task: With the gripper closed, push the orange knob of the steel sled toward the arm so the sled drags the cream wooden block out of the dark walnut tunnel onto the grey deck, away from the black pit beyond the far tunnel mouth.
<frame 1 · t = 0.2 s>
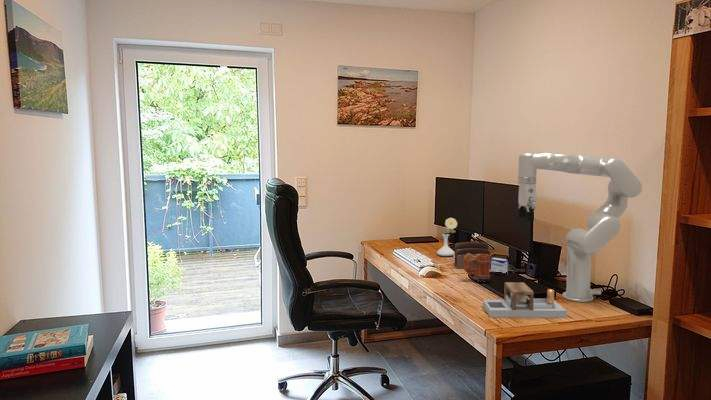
hand: (525, 219, 200), 36 cm above the table, tool pointing down, fingers open, 9 cm apart
tunnel: (518, 311, 186), resting on track deck
sled: (530, 297, 185), point 6 cm above the table, slide at 0.0 cm
flower in vase: (446, 255, 290), on the table
mug: (476, 282, 230), on the table
track deck: (522, 312, 186), on the table
box: (499, 274, 244), on the table
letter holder: (472, 267, 261), on the table
block: (518, 304, 186), point 3 cm above the table, touching track deck
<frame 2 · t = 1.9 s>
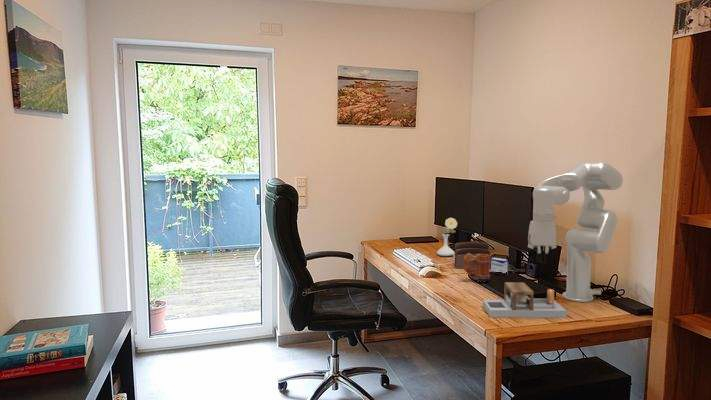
hand: (541, 262, 183), 21 cm above the table, tool pointing down, fingers closed
nothing on the table moved.
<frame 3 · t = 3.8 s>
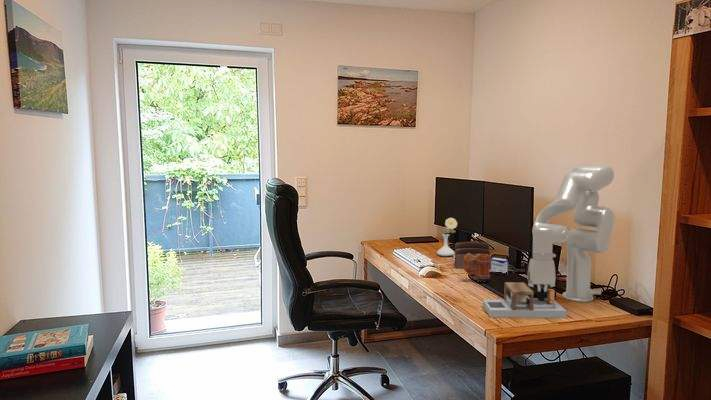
hand: (540, 300, 185), 5 cm above the table, tool pointing down, fingers closed
sled: (531, 297, 185), point 6 cm above the table, slide at 0.2 cm, touching gripper
everything else where it was.
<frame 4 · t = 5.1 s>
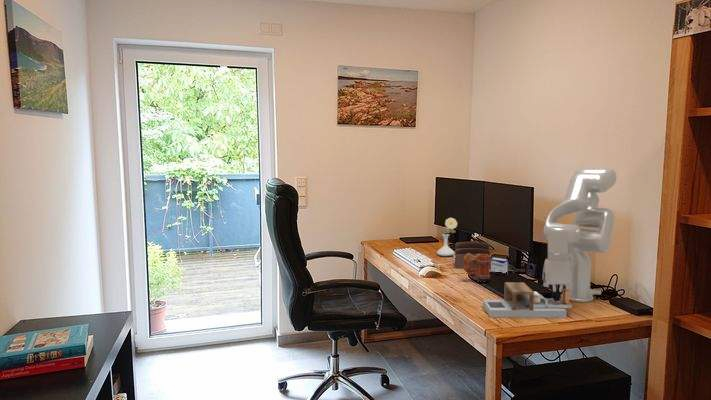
hand: (556, 300, 184), 5 cm above the table, tool pointing down, fingers closed
sled: (546, 297, 184), point 6 cm above the table, slide at 6.3 cm, touching block, gripper
block: (531, 305, 185), point 3 cm above the table, touching sled
everything else where it was.
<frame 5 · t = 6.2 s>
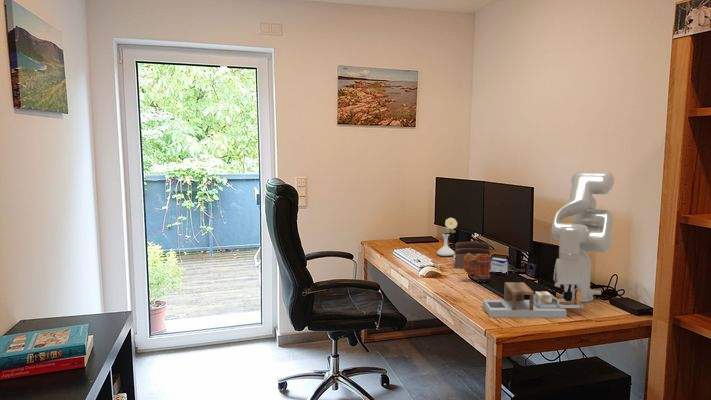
hand: (567, 300, 184), 5 cm above the table, tool pointing down, fingers closed
sled: (557, 297, 184), point 6 cm above the table, slide at 10.9 cm, touching gripper
block: (543, 305, 185), point 3 cm above the table, touching track deck
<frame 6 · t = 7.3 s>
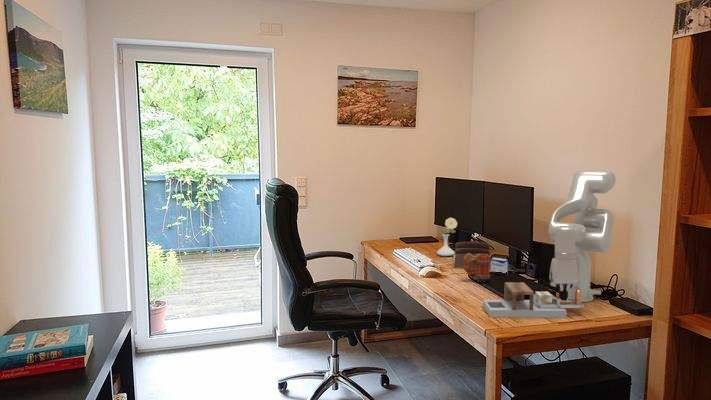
hand: (563, 299, 184), 5 cm above the table, tool pointing down, fingers closed
sled: (558, 297, 184), point 6 cm above the table, slide at 11.0 cm, touching block
block: (543, 305, 185), point 3 cm above the table, touching sled, track deck
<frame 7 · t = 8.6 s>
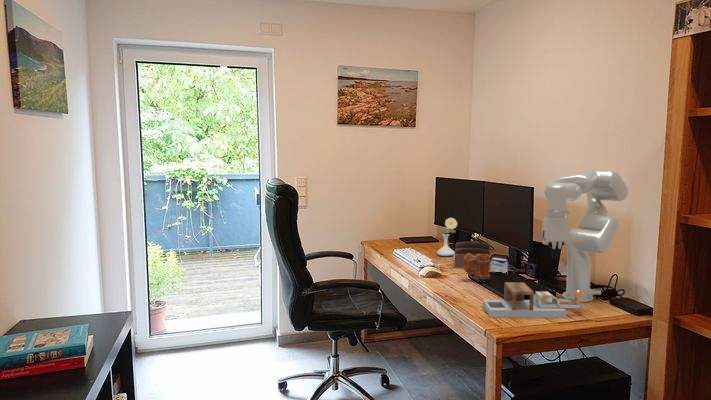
hand: (555, 257, 187), 22 cm above the table, tool pointing down, fingers closed
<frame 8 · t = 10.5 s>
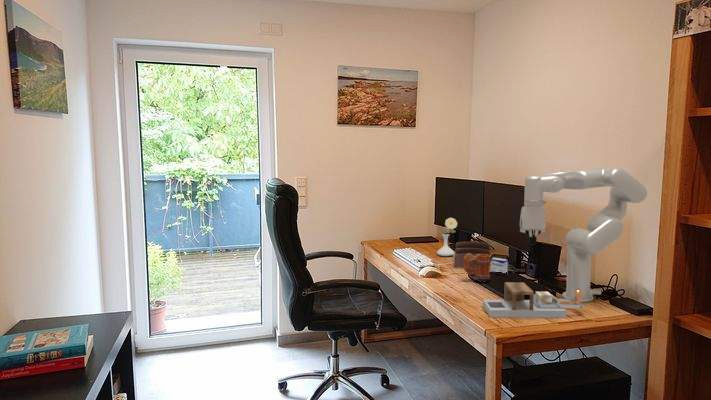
hand: (532, 245, 198), 25 cm above the table, tool pointing down, fingers closed
at the end: block inside the target area (1.1 cm from its centre), point 3.0 cm above the table; block tilted 0°; sled slide at 11.0 cm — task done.
